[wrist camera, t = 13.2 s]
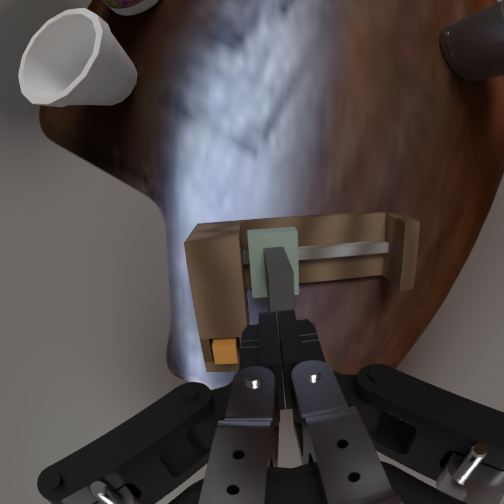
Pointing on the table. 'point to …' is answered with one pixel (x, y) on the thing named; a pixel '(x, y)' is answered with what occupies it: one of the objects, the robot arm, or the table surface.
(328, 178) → the table surface
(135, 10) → the milk bottle
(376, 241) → the brown mechanism housing
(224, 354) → the button
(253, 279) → the sliding handle
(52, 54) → the foam cup
